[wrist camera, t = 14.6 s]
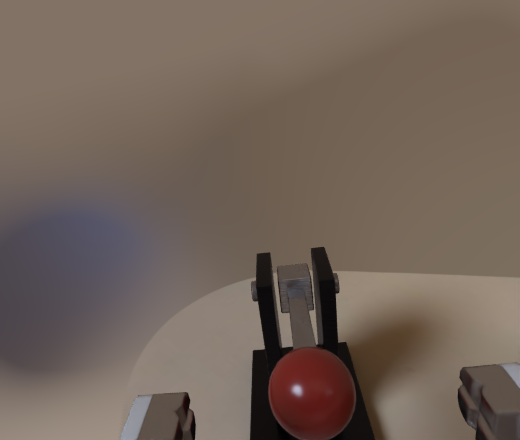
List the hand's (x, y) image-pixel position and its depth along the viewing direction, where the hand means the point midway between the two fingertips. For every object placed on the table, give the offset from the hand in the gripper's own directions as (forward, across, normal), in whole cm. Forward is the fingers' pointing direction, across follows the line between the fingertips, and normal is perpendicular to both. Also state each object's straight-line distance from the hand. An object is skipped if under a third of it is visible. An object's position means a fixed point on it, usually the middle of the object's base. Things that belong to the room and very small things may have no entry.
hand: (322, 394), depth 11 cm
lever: (+8, 0, +6) cm, 10 cm away
